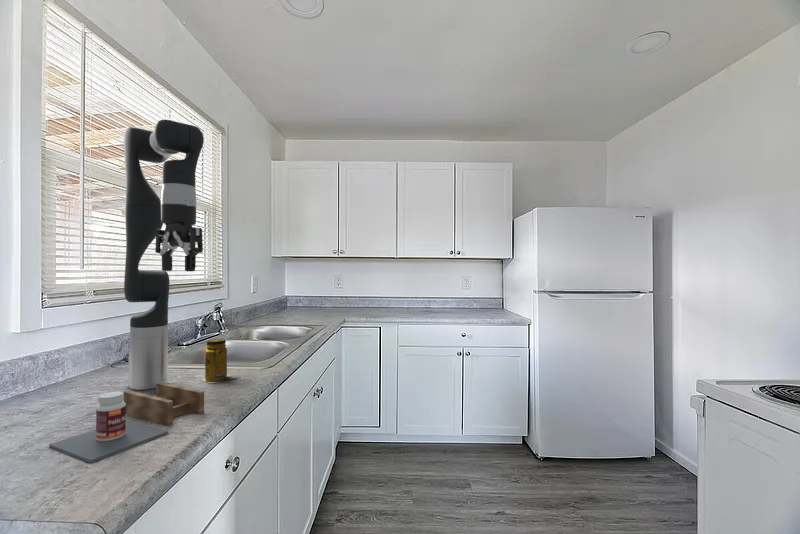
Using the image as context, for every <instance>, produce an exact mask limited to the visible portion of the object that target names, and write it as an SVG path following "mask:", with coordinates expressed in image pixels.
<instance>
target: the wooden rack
mask: <svg viewBox="0 0 800 534" xmlns="http://www.w3.org/2000/svg"><path fill="white" fill-rule="evenodd" d="M123 393H124V400H123V402H125V403H126V415H127V416H131V417H135V418H138V419H141V420H145V421H148V422H149V421H150V422H153V423H156V424H161V425H164V426H166V427H167V426H171V425H173V424H174V418H175V417H178V416H182V415H184V414H187V413H193V414H197V415H201V414H204V413H205V391H204V390H201V389H197V388H196V389H195V388H190V387H186V386H179V385H177V384H176V385H175V384H170V383H168V382H167V383H162V382H160V383H156V388H155V395H150V394H145V393H141V392H136V391H132V390H126V391H123Z"/></svg>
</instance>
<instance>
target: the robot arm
mask: <svg viewBox="0 0 800 534" xmlns="http://www.w3.org/2000/svg"><path fill="white" fill-rule="evenodd" d="M204 141H205V137H204V134H203V132H202V130H201V129H200V128H199V127H197V126H195V125H191V124H188V123H183V122H179V121H175V120H170V119H161V120H158V121H157V123H156V125H155V127H154V130H149V129H144V128H139V127H135V126H134V127H133V126H129V127H127V128H126V130H125V131H124V135H123V151H124V166H125V168H124V169H125V207H124V210H125V211H124V212H125V213H124V215H125V220H124V221H125V236H126V237H125V239H126V240H125V241H126V250H125V264H124V266H125V267H124V280H123V281H124V282H123V283H124V285H123V286H124V287H123V290H124V291H123V292H124V299H125V300H126V301H127V302H129V303H154V304H153V306H152V307H151V308H149V309H147V310H146V311H143V312H141V313H137V314H135V315H132V316H131V317H130V321H129V325H130V326H129V329H130V330H129V332H130V333H129V335H130V336H129V353H128V381H127V382H128V387H129V389H131V390H137V391H139V390H149V389H156V383H160V382H162V383H167V384H168V369H169V368H168V362H169V361H168V360H169V358H168V356H169V355H168V353H169V352H168V350H169V347H168V346H169V344H168V343H169V334H168V333H169V295H170V275H169V273H168V272H172V271H173V253H174V252H175V250H177V249H178V247H180V249H182V250H183V252H184V254H185V256H184V271H185V272H195V270H196V266H197V265H196V264H197V263H196V262H197V261H196V260H197V259H196V257H197V255H198V254H203V252H204V249H203V248H204V246H203V245H204V244H203V242H204V241H203V229H202V227H195V226H194V225H196V223H197V193H196V172H197V171H196V170H197V165H198V161H199V158H200V155H201V153H202V152H201V151H202V149H203V145H204V144H205V143H204ZM179 153H181V154H185V156H184V159H183V158H181V159H170V160H169V158H170V157H171V156H172V155H177V154H179ZM140 161H142V162H148V163H152V164H162V163H163V164H162V185H161V186H162V188H161V195H160V197H159V194H157V192H156V191H155V189H154V188H153V187H152V185H151V184H150V183H149V181H148V179H147V178H146V176H145V174H144V171H143V169H142V167H141V162H140ZM163 225H165V227H164V228H165V229H162V228H163ZM154 240H155V251H154V252H155V253H156V254H159V255H160V256H161V269H139V265H140V262H141V259H142V257H143V256H144V254H145V252H146V251H147V249H148V248H149V246H150V245H151V244H152V242H153V241H154ZM196 243H197V246H196ZM161 246H162V247H161Z"/></svg>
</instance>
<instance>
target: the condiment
mask: <svg viewBox="0 0 800 534" xmlns="http://www.w3.org/2000/svg"><path fill="white" fill-rule="evenodd" d="M226 342H227V341H226V340H225V339H222V338H217V339H216V338H215V339H210V340H207V341H206V349H205V353H204V356H205V357H204V358H205V359H204V361H205V362H204V365H205V366H204V373H205V374H204V377H205V378H200V379H199V380H200V381H203V382H206V383H209V384H210V385H211V384H216V383H217V384H218V383H222V382H225V381H227V380H228V381H229V380H234V379H237V378H238V376H234V375H231V374H228V349H227V348H226V346H227V345H226Z"/></svg>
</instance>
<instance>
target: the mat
mask: <svg viewBox="0 0 800 534" xmlns="http://www.w3.org/2000/svg"><path fill="white" fill-rule="evenodd" d="M168 434H169V431H168V430H166V429H162V428H159V427H155V426H151V425H149V424H148V425H147V424H145V423H142V422H137V421H134V420H131V419H126V428H125V435H124V436H123V437H121V438H118V439H115V440H112V441H105V442H102V441H98V440H96V429H93V430H90V431H86V432H84V433H80V434H78V435H74V436H71V437H68V438H65V439H60V440H58V441H55V442H52V443H50V444H49V445H48V448H51V449H54V450H56V451H59V452H61V453H64V454H66V455H69V456H71V457H74V458H77V459H79V460H82V461H83V462H87V463H90V464H92V463H95V462H97V461H100V460H102V459H105V458H107V457H110V456H113V455H115V454H118V453H120V452H123V451H126V450H129V449H132V448H134V447H136V446H139V445H142V444H144V443H147V442H150V441H152V440H154V439H158V438H160V437H163V436H166V435H168Z"/></svg>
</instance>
